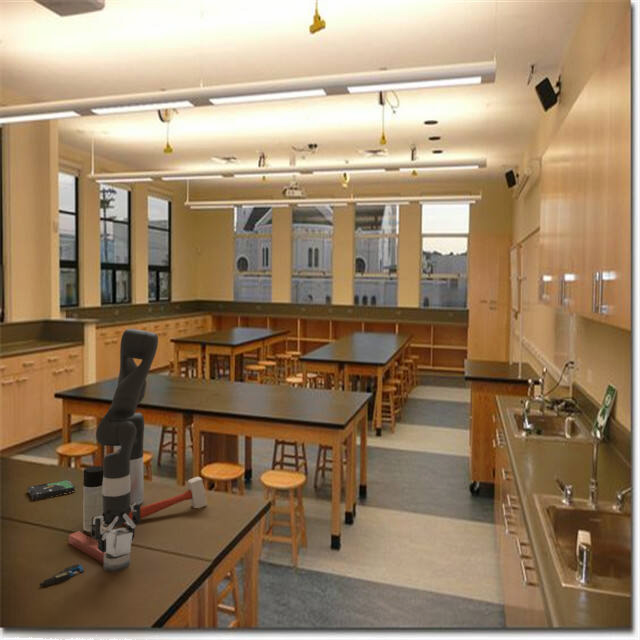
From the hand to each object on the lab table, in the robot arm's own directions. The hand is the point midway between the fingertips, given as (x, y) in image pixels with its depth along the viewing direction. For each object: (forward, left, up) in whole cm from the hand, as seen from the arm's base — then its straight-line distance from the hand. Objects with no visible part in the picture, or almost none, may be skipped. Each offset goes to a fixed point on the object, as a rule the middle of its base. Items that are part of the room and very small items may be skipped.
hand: (116, 545), depth 154 cm
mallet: (-18, +31, -6) cm, 36 cm away
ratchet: (-10, 0, -6) cm, 11 cm away
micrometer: (-6, -13, -6) cm, 16 cm away
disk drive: (-69, +16, -6) cm, 71 cm away
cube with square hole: (0, 0, -2) cm, 2 cm away
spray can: (-27, +9, -6) cm, 29 cm away
